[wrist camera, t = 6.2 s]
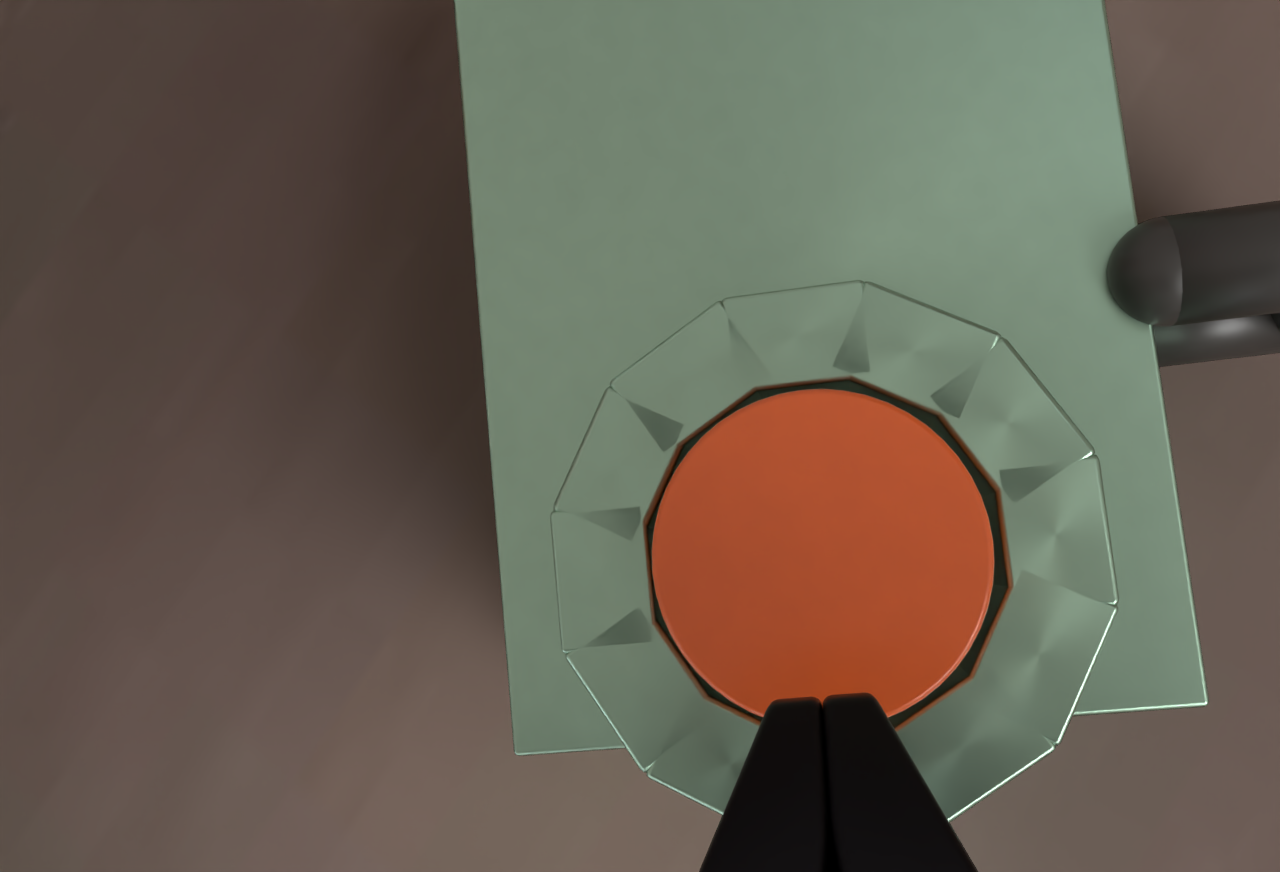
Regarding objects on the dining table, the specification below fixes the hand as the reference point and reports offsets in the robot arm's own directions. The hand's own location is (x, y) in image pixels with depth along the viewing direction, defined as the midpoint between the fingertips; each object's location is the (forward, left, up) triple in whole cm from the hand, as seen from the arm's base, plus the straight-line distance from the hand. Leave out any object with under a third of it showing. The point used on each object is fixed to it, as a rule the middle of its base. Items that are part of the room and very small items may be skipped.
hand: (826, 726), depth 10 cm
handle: (+1, -8, -11) cm, 13 cm away
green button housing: (+4, -2, -12) cm, 13 cm away
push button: (+1, -1, -5) cm, 5 cm away
